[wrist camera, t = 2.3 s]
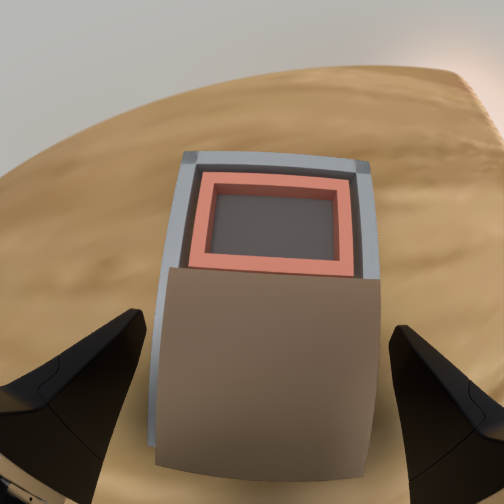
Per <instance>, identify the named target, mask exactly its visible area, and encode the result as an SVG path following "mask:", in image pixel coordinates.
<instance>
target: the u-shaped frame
mask: <svg viewBox="0 0 504 504" xmlns="http://www.w3.org/2000/svg"><path fill="white" fill-rule="evenodd" d="M203 172H231V173H260V174H280V175H295V176H309V177H321V178H332V179H342V180H349V190H350V202H351V217H352V235H353V264H354V276H353V278H358V279H380V268H379V248H378V234H377V222H376V212H375V203H374V194H373V186H372V179H371V172H370V165H369V162H367V161H360V160H352V159H343V158H334V157H325V156H314V155H302V154H287V153H270V152H242V151H185V152H184V153H183V158H182V162H181V166H180V170H179V175H178V179H177V184H176V188H175V193H174V198H173V203H172V208H171V213H170V218H169V224H168V229H167V235H166V240H165V246H164V252H163V259H162V265H161V272H160V279H159V286H158V293H157V301H156V310H155V319H154V328H153V338H152V350H151V362H150V377H149V397H148V446H151V447H156V403H157V383H158V367H159V354H160V342H161V332H162V322H163V313H164V304H165V296H166V288H167V280H168V273H169V267H175V268H189V266H188V265H189V257H190V250H191V243H192V236H193V229H194V223H195V217H196V210H197V204H198V198H199V192H200V187H201V181H202V175H203Z"/></svg>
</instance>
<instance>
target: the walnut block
mask: <svg viewBox="0 0 504 504" xmlns="http://www.w3.org/2000/svg"><path fill="white" fill-rule="evenodd" d="M380 314H381V297H380V279H358V278H336V277H315V276H296V275H278V274H262V273H245V272H230V271H215V270H201V269H188V268H175V267H169V273H168V280H167V288H166V296H165V304H164V313H163V322H162V332H161V342H160V354H159V367H158V383H157V403H156V447H155V452H156V465H158V466H162V467H166V468H171V469H175V470H180V471H185V472H190V473H196V474H202V475H208V476H215V477H222V478H231V479H241V480H253V481H273V482H309V481H328V480H341V479H351V478H359V477H363V474H364V469H365V464H366V459H367V454H368V448H369V442H370V436H371V430H372V423H373V416H374V408H375V399H376V389H377V378H378V365H379V348H380Z"/></svg>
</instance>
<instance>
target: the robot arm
mask: <svg viewBox="0 0 504 504" xmlns="http://www.w3.org/2000/svg"><path fill="white" fill-rule="evenodd" d="M146 331H147V328H146V323H145V319H144V316H143V312H142V311H141V310H140V309H133V308H131V309H129V310H127V311H126V312H124V313H123V314H121V315H119V316H118V317H116V318H115V319H113V320H112V321H110V322H109V323H107V324H105V325H104V326H102V327H101V328H99V329H98V330H96V331H95V332H93V333H91V334H90V335H88V336H87V337H85V338H84V339H82V340H81V341H79V342H78V343H76V344H74V345H73V346H71V347H70V348H68V349H67V350H65V351H64V352H62V353H61V354H60V355H58V356H56V357H54V358H53V359H51V360H50V361H48V362H47V363H45V364H43V365H42V366H40V367H38V368H37V369H35V370H33V371H31V372H29V373H28V374H26V375H24V376H22V377H20V378H18V379H16V380H14V381H13V382H11V383H9V384H7V385H4V386H0V504H64V503H65V500H66V498H68V499H70V500H72V501H74V502H76V503H78V504H91V503H92V499H93V495H94V492H95V488H96V485H97V481H98V478H99V475H100V471H101V468H102V465H103V461H104V458H105V455H106V452H107V449H108V446H109V443H110V440H111V437H112V434H113V431H114V428H115V425H116V422H117V419H118V416H119V414H120V411H121V408H122V405H123V403H124V400H125V397H126V394H127V392H128V389H129V386H130V384H131V381H132V379H133V376H134V373H135V371H136V368H137V365H138V361H139V357H140V354H141V350H142V346H143V343H144V339H145V335H146ZM389 355H390V363H391V371H392V380H393V386H394V391H395V396H396V401H397V406H398V411H399V416H400V422H401V428H402V434H403V440H404V447H405V454H406V461H407V470H408V479H409V491H410V504H504V407H502V406H501V405H500V404H498V403H497V402H496V401H495V400H493V399H492V398H491V397H490V396H488V395H487V394H486V393H485V392H483V391H482V390H481V389H480V388H479V387H478V386H477V385H475V384H474V383H473V382H472V381H471V380H469V378H468V377H467V376H465V375H464V374H463V373H462V372H461V371H460V370H459V369H458V368H457V367H455V366H454V365H453V364H452V363H451V362H450V361H449V360H447V359H446V358H445V357H444V356H443V355H442V354H441V353H439V352H438V351H437V350H436V349H435V348H434V347H433V346H431V345H430V344H429V343H428V342H427V341H426V340H424V339H423V338H422V337H421V336H420V335H418V334H417V333H416V332H415V331H414V330H413V329H411V328H410V327H409V326H408V325H397V326H396V327H395V329H394V332H393V334H392V336H391V339H390V341H389Z"/></svg>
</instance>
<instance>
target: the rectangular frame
mask: <svg viewBox="0 0 504 504" xmlns="http://www.w3.org/2000/svg"><path fill="white" fill-rule="evenodd" d="M188 266H189V267H190V268H191V269H201V270H215V271H230V272H245V273H262V274H278V275H296V276H315V277H336V278H352V277H353V276H354V264H353V235H352V217H351V202H350V190H349V180H342V179H332V178H321V177H309V176H295V175H280V174H260V173H231V172H203V175H202V181H201V187H200V192H199V198H198V204H197V210H196V217H195V223H194V229H193V236H192V243H191V250H190V257H189V265H188Z"/></svg>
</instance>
